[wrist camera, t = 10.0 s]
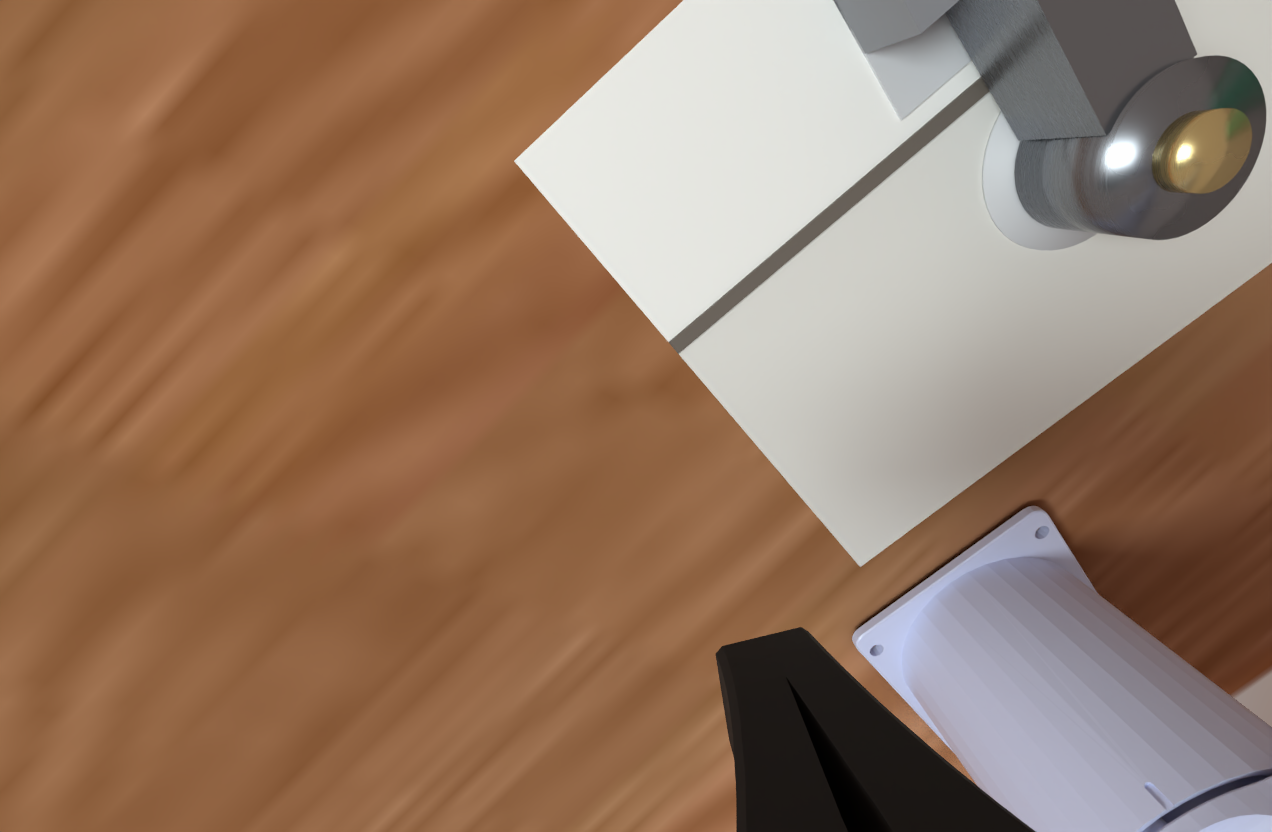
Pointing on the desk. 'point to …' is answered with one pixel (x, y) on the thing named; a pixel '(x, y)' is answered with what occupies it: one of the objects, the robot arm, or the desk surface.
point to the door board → (873, 243)
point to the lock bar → (1115, 112)
